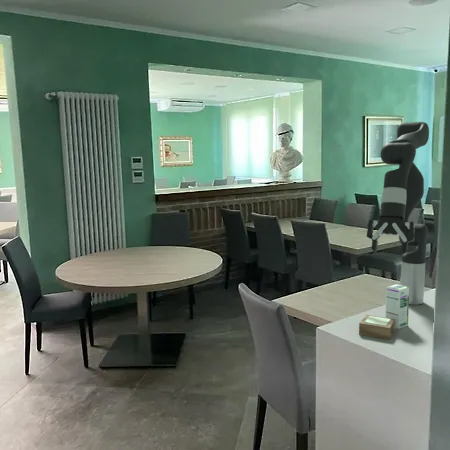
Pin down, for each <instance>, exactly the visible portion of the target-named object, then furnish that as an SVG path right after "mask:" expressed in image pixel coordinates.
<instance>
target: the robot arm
mask: <svg viewBox="0 0 450 450" xmlns="http://www.w3.org/2000/svg"><path fill="white" fill-rule="evenodd" d="M429 139H430V128H429V125H428V123H426V122H425V121H409V122H408V121H407V122H401V123H399V124H398V126H397V130H396V139H395V140H392V141H391V140H390V141H387V143H385V144H384V145H383V146H382V148H381V150H380V159H381V161H382V162H383V163H384V164H385V165H391V166H393V165H398V168H395V169H391V170H388V171H387V172H385V173H384V176H383V188H382V192H381V199H380V211H379V219H378V220H373V219H369V220H368V224H367V232H366V237H367V238H368V239H370V240H371V250H372V251H373V252H374V253H377V252H378V246H379V242H378V240H379V238H380V237H382V236H383V235H392V236H397V235H398V240H399V243H400V244H401V250H400V251H401V252H400V254H401V265H400V267H401V268H400V278H399V285H403V286H407V287H409V305H412V306H413V305H414V306H416V305H422V304H424V300H425V299H424V297H425V296H424V295H425V282H426V281H425V276H426V275H425V274H426V258H427V257H426V256H427V243H428V232H429V231H428V230H429V229H428V226H427V224H424V223H414V222H413V221H410V222H409V218H410V216H411V214H412V212H413V211H414V209H415V208H416V207H417V205H418V204H419V203H420V202H421V200H422V199H423V197H424V193H425V188H424V187H425V179H424V178H425V177H424V175H423V174H422V172H421V171H420V169H419V168H418V166H416V163H414V160H415V159H416V158H415V157H416V154H417V149H419V148H421V147H424V146H426V145H427V143H428V142H429ZM377 226H378V227H379V229H378V230H376V233H375V234H373V233H374V232H373V231H374V228H376V227H377ZM408 246H411V247H412V246H414V247H417V249H414V250H413V251H410V252H408Z"/></svg>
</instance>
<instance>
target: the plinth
mask: <svg viewBox="0 0 450 450" xmlns="http://www.w3.org/2000/svg"><path fill="white" fill-rule="evenodd" d="M395 320H396V319H391V318H386V317H383V316H379V315H378V316H376V315H372V314H371V315H370V314H366V315H365V316H364V317H363V318H362V319H361V320H360V322H359V324H358V325H359V326H358V335H361V336H362V335H363V336H366V337H373V338H377V339H382V340H383V339H385V340H390V339H391V337H392V336H393V334H394V332H395V331H396V328H395Z"/></svg>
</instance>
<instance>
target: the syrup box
mask: <svg viewBox="0 0 450 450" xmlns="http://www.w3.org/2000/svg"><path fill="white" fill-rule="evenodd" d="M409 306H410V304H409V287H407V286H403V285H400V284H396V283H395V284H392V285H390V286H386V287H385V318H391V319H396V320H395V329H397V330H400V329H402V328H404V327H408V326H409Z"/></svg>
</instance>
